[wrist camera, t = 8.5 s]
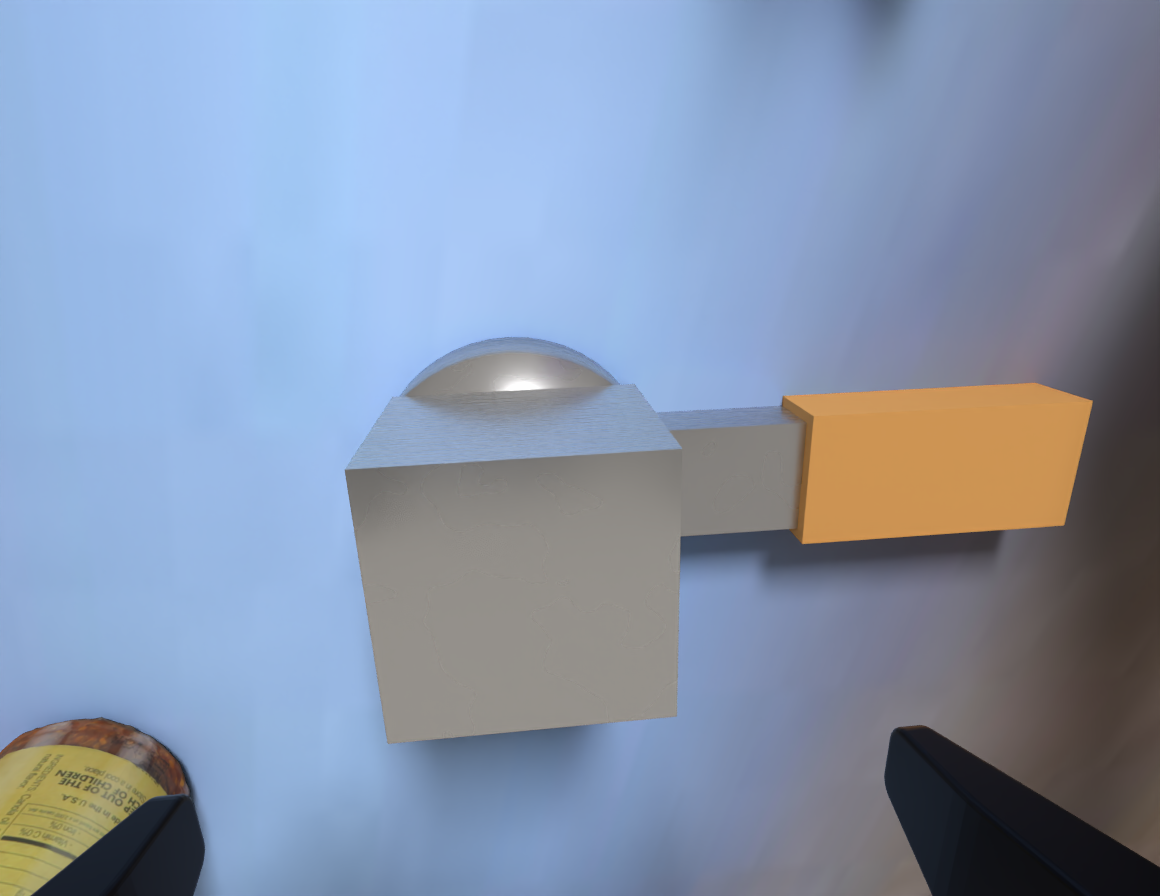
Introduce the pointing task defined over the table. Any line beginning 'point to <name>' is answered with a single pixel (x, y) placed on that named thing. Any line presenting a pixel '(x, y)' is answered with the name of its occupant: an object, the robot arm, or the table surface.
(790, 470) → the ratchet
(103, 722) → the sauce bottle
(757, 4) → the table surface
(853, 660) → the table surface
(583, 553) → the brushed metal cube
